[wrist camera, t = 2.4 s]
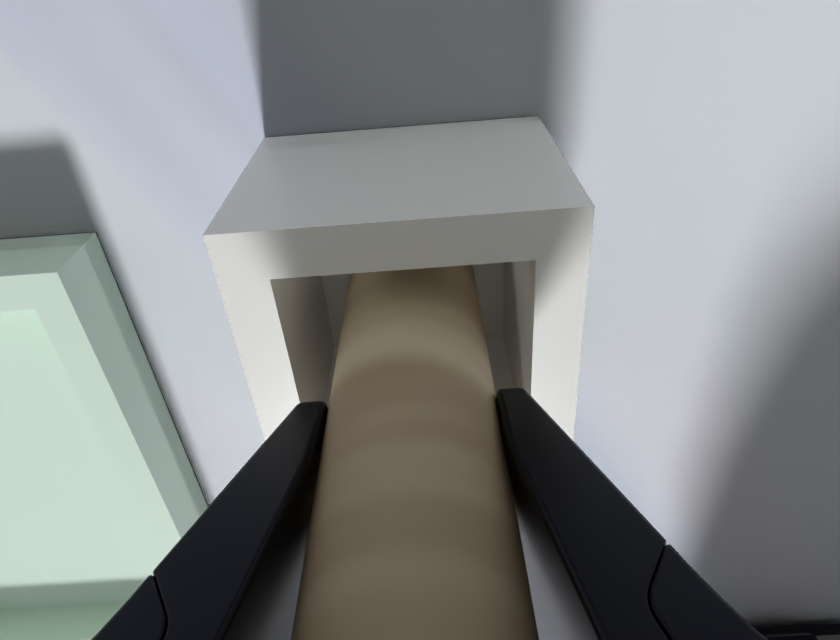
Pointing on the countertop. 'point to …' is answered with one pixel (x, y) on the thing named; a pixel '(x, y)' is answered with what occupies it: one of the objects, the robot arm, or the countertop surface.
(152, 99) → the countertop surface
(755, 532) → the countertop surface
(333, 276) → the white square tube
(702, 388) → the countertop surface
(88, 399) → the tray
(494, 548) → the dowel
